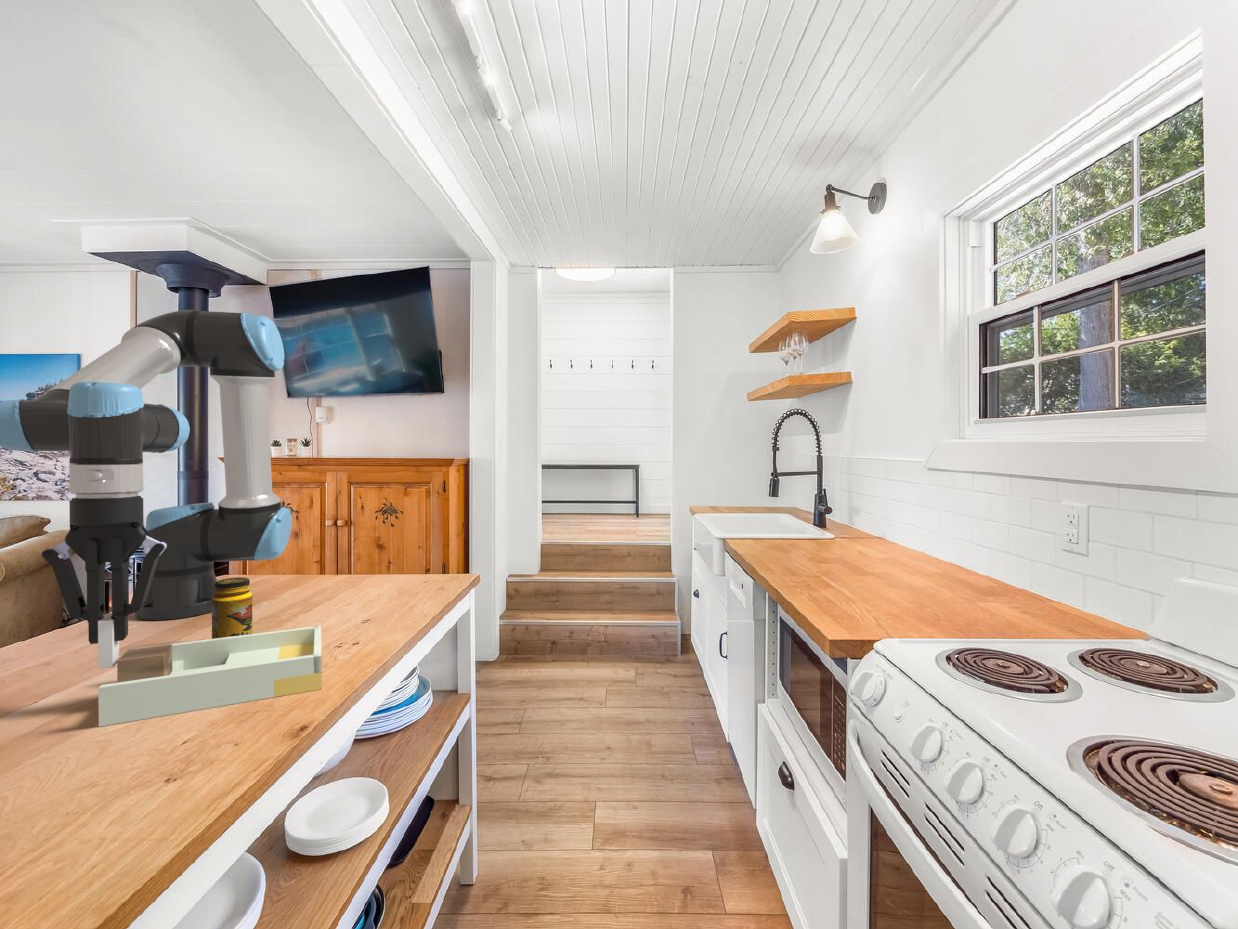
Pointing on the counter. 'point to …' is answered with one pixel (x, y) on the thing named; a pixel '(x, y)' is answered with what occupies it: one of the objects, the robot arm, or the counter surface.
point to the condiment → (232, 608)
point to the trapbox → (219, 675)
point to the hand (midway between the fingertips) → (108, 664)
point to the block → (145, 663)
